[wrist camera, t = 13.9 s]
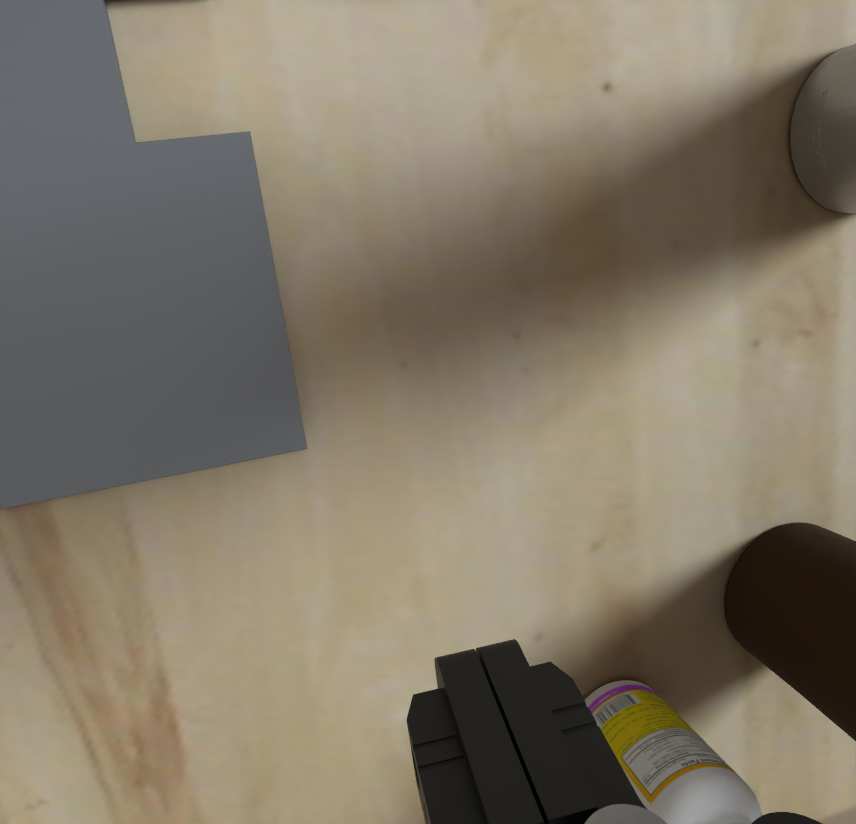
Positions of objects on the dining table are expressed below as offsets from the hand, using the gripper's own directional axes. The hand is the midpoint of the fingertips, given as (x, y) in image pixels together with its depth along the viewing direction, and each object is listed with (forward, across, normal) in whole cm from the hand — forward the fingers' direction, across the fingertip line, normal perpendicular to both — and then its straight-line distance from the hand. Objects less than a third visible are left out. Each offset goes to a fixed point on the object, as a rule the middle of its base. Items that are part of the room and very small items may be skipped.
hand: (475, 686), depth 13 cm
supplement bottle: (+23, -13, +27) cm, 38 cm away
